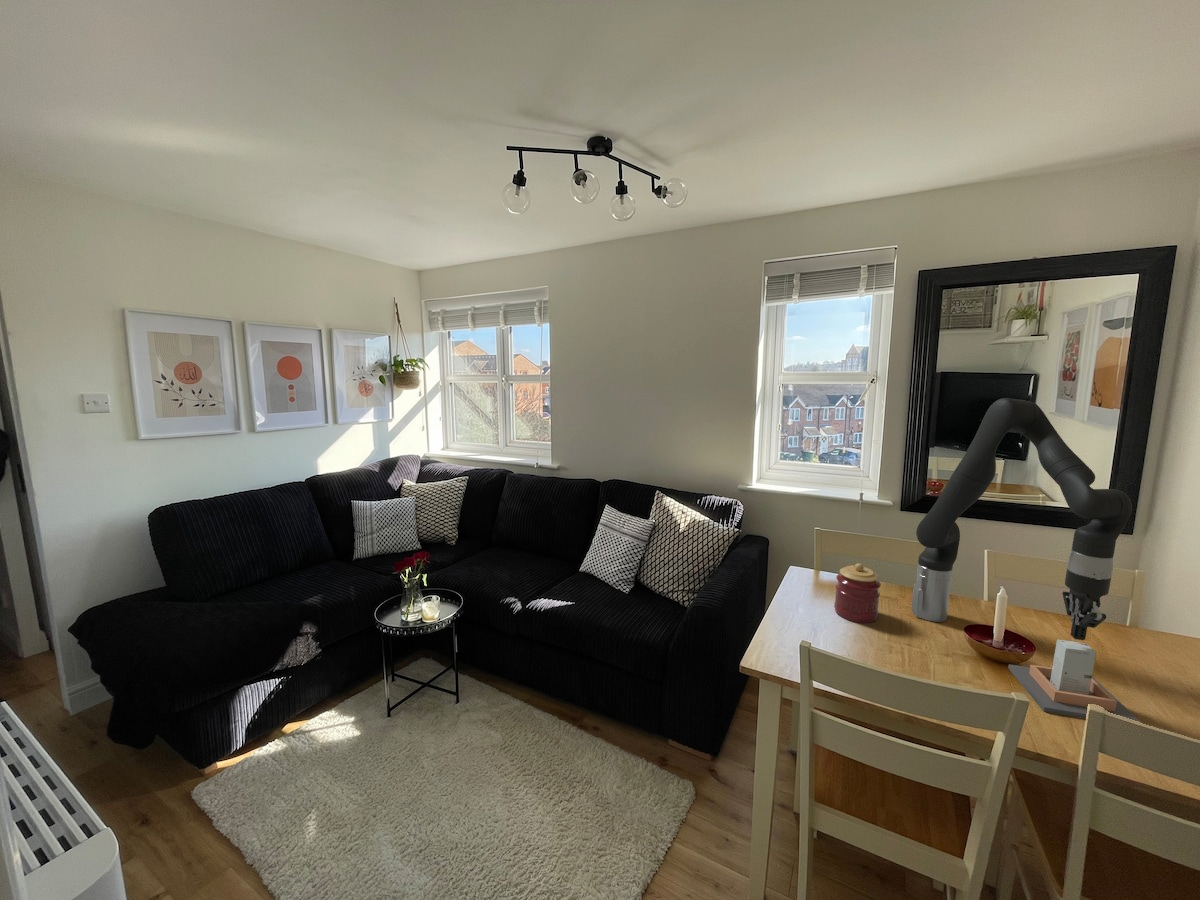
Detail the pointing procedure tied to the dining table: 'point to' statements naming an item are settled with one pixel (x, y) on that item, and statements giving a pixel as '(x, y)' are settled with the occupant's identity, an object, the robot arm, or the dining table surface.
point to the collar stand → (1065, 694)
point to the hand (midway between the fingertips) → (1077, 638)
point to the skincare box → (1072, 667)
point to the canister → (857, 594)
